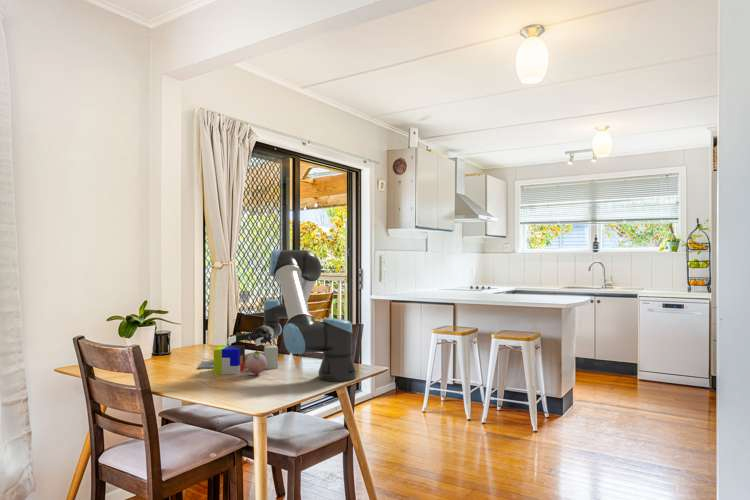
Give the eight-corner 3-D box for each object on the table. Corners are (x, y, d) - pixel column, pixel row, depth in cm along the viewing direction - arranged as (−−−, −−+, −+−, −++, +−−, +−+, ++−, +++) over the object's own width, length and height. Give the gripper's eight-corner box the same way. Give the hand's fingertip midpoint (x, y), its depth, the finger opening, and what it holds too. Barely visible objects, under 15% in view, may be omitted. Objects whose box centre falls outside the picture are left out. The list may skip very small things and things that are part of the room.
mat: (229, 367, 219) (229, 366, 219) (197, 369, 217) (197, 367, 217) (231, 361, 232) (231, 360, 232) (201, 362, 229) (201, 361, 229)
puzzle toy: (237, 374, 208) (238, 349, 208) (213, 374, 208) (213, 349, 208) (244, 368, 218) (244, 345, 218) (221, 368, 218) (221, 345, 218)
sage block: (277, 368, 219) (277, 347, 219) (266, 369, 217) (266, 348, 217) (275, 365, 223) (275, 345, 224) (264, 366, 222) (264, 346, 222)
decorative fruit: (244, 373, 210) (244, 348, 210) (265, 371, 212) (265, 347, 212) (246, 378, 201) (246, 352, 201) (267, 376, 203) (267, 351, 203)
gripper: (287, 343, 243) (268, 351, 222) (239, 340, 248) (216, 349, 227) (287, 327, 243) (268, 334, 222) (239, 325, 248) (216, 332, 227)
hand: (242, 341), depth 224 cm, fingers open, 13 cm apart
